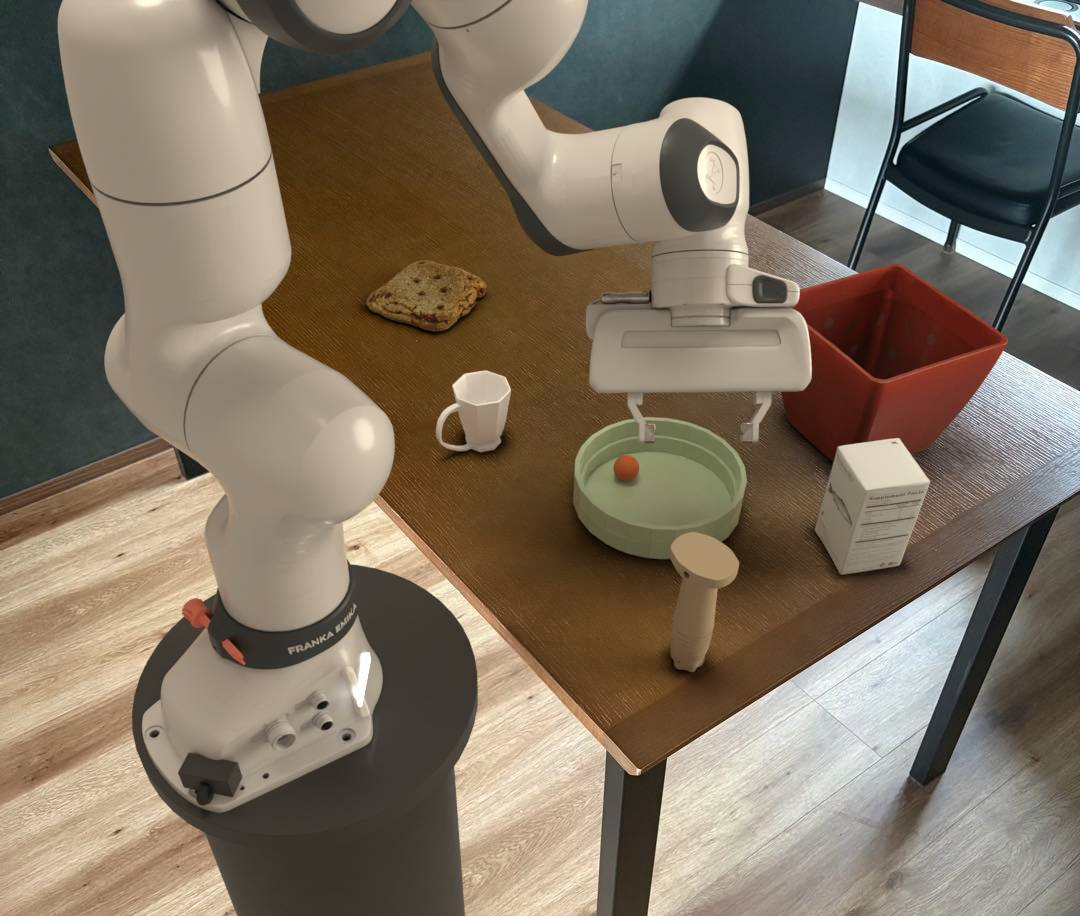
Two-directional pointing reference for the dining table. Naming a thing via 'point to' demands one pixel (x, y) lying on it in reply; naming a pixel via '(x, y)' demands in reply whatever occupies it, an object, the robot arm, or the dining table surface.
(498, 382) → the cup
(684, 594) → the handle
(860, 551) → the white packaging box
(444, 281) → the pastry
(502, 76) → the robot arm
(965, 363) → the flower pot
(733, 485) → the bowl
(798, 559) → the dining table surface
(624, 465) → the ball
